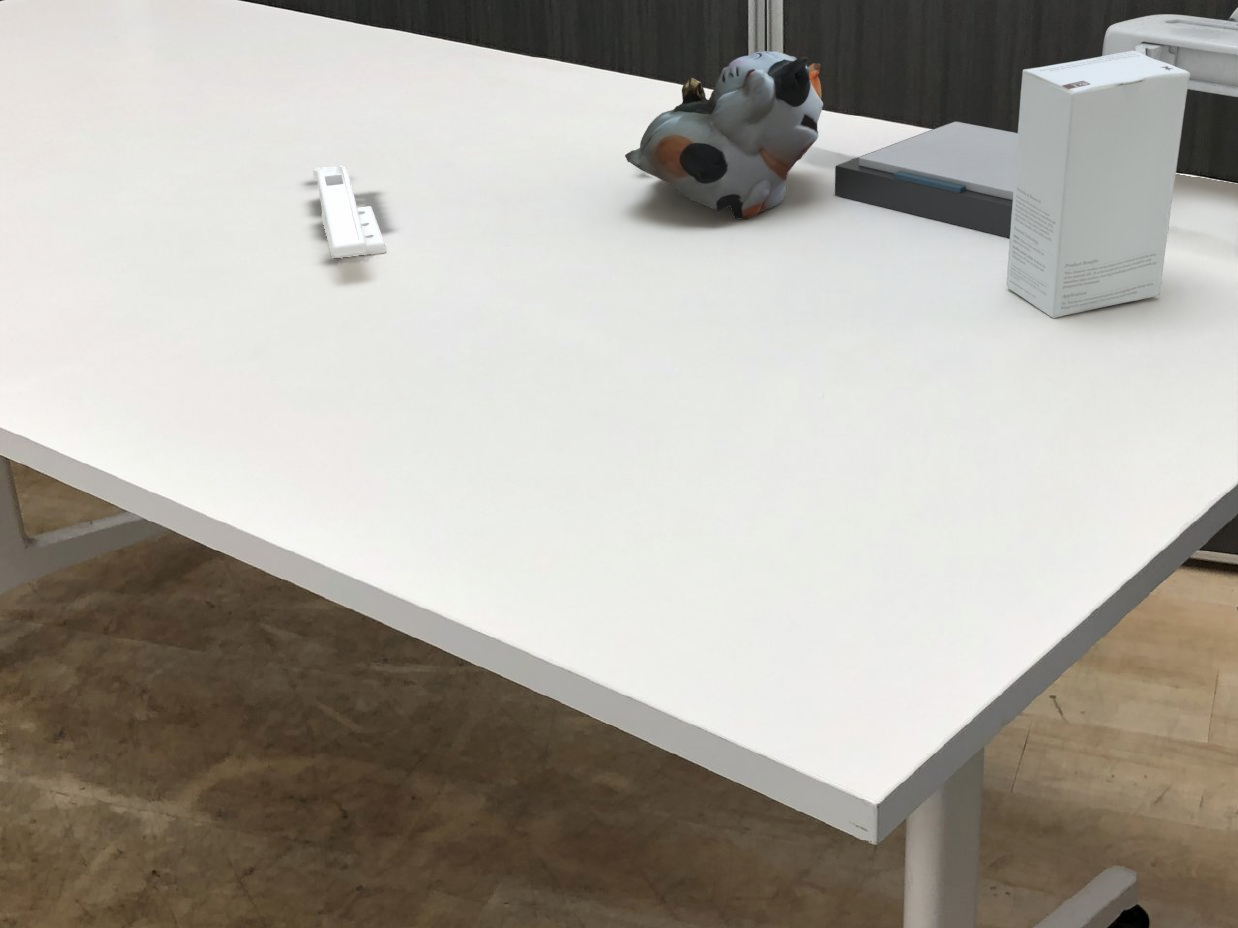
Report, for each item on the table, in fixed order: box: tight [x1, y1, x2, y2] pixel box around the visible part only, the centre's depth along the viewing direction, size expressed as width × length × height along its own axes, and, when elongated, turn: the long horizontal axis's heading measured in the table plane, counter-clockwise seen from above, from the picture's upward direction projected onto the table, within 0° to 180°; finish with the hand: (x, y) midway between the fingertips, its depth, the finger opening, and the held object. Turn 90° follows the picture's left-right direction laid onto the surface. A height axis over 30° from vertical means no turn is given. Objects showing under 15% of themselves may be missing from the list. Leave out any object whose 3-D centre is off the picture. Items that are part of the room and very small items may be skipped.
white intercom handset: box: [312, 164, 387, 259], centre depth 109 cm, size 4×20×5 cm, turn 15°
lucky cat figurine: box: [624, 50, 824, 220], centre depth 112 cm, size 15×12×14 cm
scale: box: [834, 121, 1018, 239], centre depth 112 cm, size 17×15×3 cm
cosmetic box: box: [1006, 51, 1190, 319], centre depth 90 cm, size 8×6×15 cm
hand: (1196, 85), depth 96 cm, fingers open, 8 cm apart
